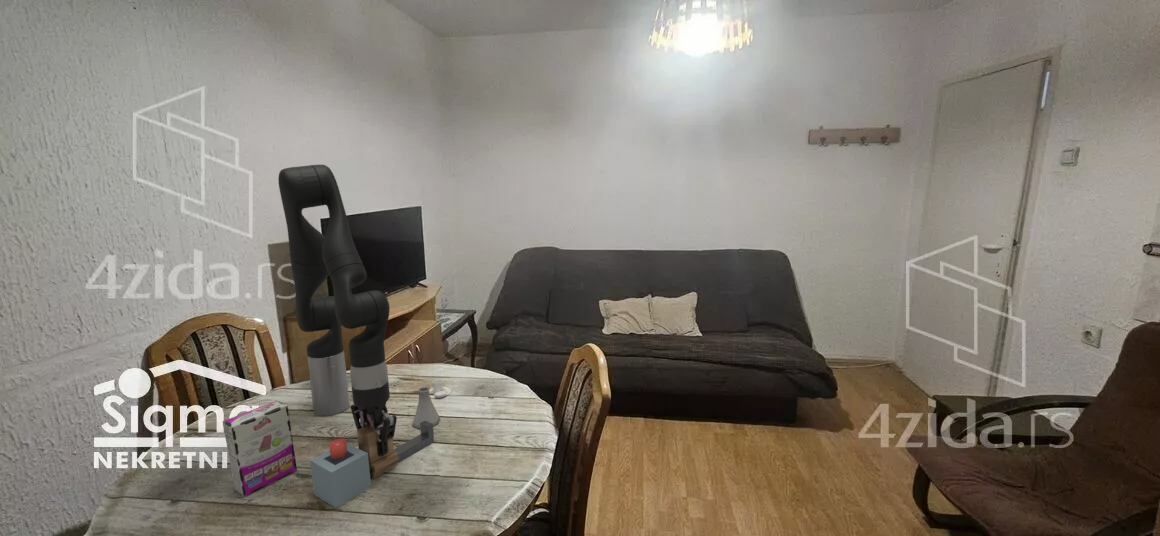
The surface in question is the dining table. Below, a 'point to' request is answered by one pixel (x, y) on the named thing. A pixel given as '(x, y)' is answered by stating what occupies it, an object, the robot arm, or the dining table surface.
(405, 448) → the rail
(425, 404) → the flask
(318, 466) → the button housing
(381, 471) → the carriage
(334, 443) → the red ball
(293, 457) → the candy bar box
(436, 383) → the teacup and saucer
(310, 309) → the robot arm
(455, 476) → the dining table surface
